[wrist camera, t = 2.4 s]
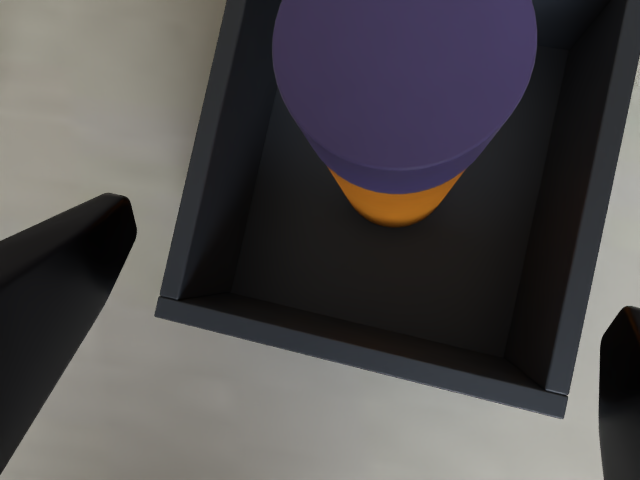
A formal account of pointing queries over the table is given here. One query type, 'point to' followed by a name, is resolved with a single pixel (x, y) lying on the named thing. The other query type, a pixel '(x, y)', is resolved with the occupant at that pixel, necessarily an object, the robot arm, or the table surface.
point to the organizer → (414, 240)
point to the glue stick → (402, 91)
